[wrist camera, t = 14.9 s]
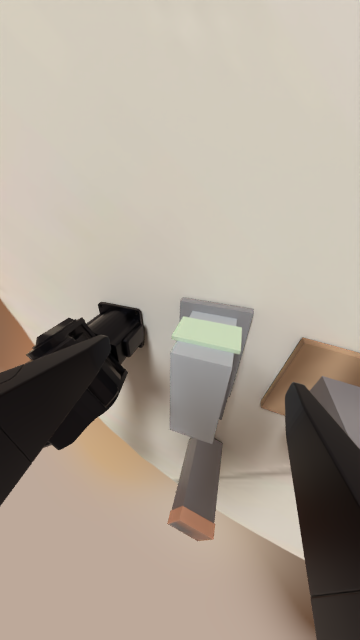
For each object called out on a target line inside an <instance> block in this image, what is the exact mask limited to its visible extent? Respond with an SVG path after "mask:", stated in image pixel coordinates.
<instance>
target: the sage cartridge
mask: <svg viewBox="0 0 360 640" xmlns="http://www.w3.org/2000/svg"><path fill="white" fill-rule="evenodd" d="M310 392H311V393H312V394H313V395H314V397H315V398H316V399H317V400H318V401H319V402H320V404H321V405H322V406H323V407H324V408H325V409H326V410H327V412H328V413H329V414H330V415H331V416H332V417H333V419H334V420H335V421H336V422H337V423H338V424H339V425H340V427H341V428H342V429H343V430H344V431H345V432H346V433H347V435H348V436H349V437H350V438H351V439H352V440H353V442H354V443H355V444H356V445H357V446H358V447H359V448H360V387H358V386H354V385H351V384H348V383H344V382H341V381H338V380H334V379H331V378H328V377H324V376H322V377H321V378H320V379H319V380H318V381H317V383H316V384H315V385H314V386H313V387H312V389H311V390H310Z"/></svg>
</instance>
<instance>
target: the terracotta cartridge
mask: <svg viewBox="0 0 360 640" xmlns="http://www.w3.org/2000/svg"><path fill="white" fill-rule="evenodd" d="M222 445H223V443H221V442H219V441H217V440H215V439H214V440H213V443H212V444H210V443H207V442H204V441H201V440H198V439H195V438H193V437H192V438H191V439H190V440H189V443H188V447H187V451H186V455H185V459H184V463H183V467H182V471H181V475H180V479H179V483H178V487H177V491H176V495H175V499H174V503H173V507H172V510H171V511H170V515H169V519H168V523H167V524H169V525H170V526H172V527H174V528H176V529H178V530H179V531H181V532H183V533H184V534H186V535H188V536H190V537H191V538H193V539H195V540H197V541H203V540H212V539H214V538H213V537H214V529H215V524H214V520H215V511H216V501H217V492H218V482H219V473H220V464H221V454H222Z"/></svg>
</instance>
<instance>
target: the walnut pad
mask: <svg viewBox="0 0 360 640" xmlns="http://www.w3.org/2000/svg"><path fill="white" fill-rule="evenodd" d="M322 376H324V377H328V378H331V379H334V380H338V381H341V382H344V383H348V384H351V385H354V386H358V387H360V353H358V352H354V351H350V350H347V349H343V348H339V347H336V346H332V345H328V344H325V343H321V342H317V341H314V340H310V339H306V338H303V337H302V339H301V340H300V342H299V344H298V345H297V347H296V348H295V350H294V351H293V353H292V354H291V356H290V357H289V359H288V360H287V362H286V364H285V365H284V367H283V368H282V370H281V371H280V373H279V374H278V376H277V377H276V379H275V381H274V382H273V384H272V385H271V387H270V388H269V390H268V391H267V393H266V394H265V396H264V397H263V399H262V401H261V408H264V409H267V410H270V411H273V412H276V413H279V414H281V415H284V416H285V394H286V392H287V390H288V389H289V387H290V385H291V383H292V382H296V383H300V384H303V385H305V386H306V387H307V389H308V390H309V391H310V390H311V389H312V387H313V386H314V385H315V384H316V383H317V381H318V380H319V379H320V378H321V377H322Z"/></svg>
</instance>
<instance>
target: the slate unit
mask: <svg viewBox="0 0 360 640" xmlns="http://www.w3.org/2000/svg"><path fill="white" fill-rule="evenodd" d="M253 314H254V311H253V309H250V308H244V307H238V306H232V305H226V304H220V303H214V302H208V301H202V300H196V299H190V298H184V297H183V298H182V299H181V301H180V323H179V324H178V326H177V328H176V329H175V331H174V333H173V335H172V339H173V340H177V341H176V343H175V345H174V347H173V349H172V351H171V363H170V430H172V431H175V432H178V433H181V434H184V435H187V436H190V437H193V438H195V439H198V440H201V441H204V442H207V443H210V444H212V443H213V440H214V436H215V432H216V428H217V424H218V420H219V419H220V420H222V416H223V413H224V409H225V405H226V402H227V398H228V397H230V395H231V391H232V388H233V384H234V380H235V377H236V373H237V370H238V366H239V363H240V359H241V356H242V352H243V349H244V345H245V342H246V338H247V335H248V331H249V328H250V324H251V321H252V317H253Z"/></svg>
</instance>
